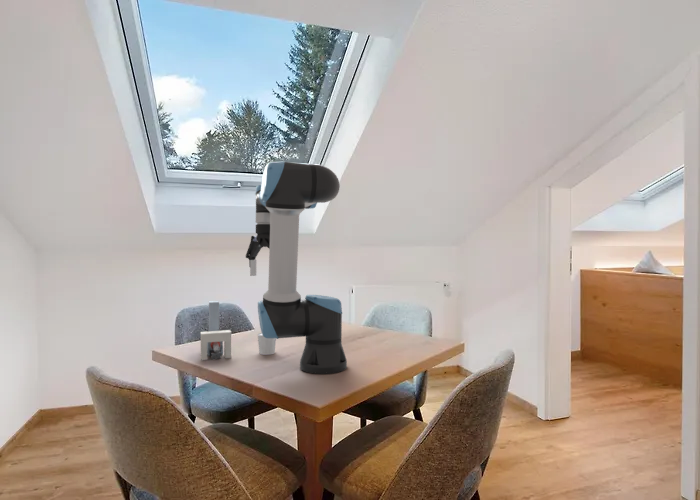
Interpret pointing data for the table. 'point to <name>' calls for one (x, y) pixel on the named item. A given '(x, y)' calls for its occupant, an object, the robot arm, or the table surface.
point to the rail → (215, 355)
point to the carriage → (214, 323)
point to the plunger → (215, 346)
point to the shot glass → (266, 345)
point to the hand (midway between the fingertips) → (265, 276)
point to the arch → (216, 337)
